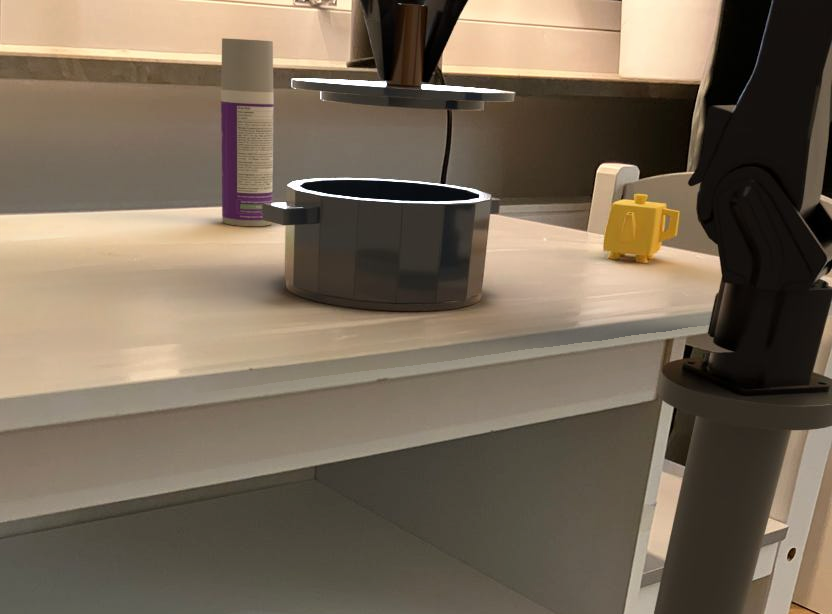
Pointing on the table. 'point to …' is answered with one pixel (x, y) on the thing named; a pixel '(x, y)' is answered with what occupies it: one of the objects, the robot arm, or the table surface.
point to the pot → (384, 242)
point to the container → (246, 130)
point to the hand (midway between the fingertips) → (404, 81)
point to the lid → (405, 77)
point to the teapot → (638, 228)
